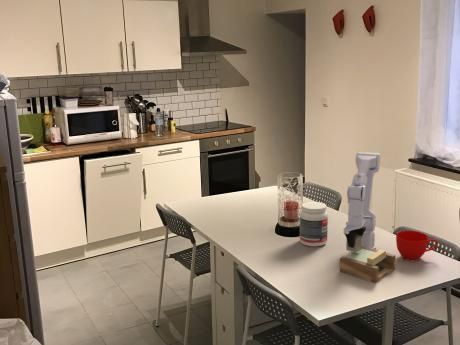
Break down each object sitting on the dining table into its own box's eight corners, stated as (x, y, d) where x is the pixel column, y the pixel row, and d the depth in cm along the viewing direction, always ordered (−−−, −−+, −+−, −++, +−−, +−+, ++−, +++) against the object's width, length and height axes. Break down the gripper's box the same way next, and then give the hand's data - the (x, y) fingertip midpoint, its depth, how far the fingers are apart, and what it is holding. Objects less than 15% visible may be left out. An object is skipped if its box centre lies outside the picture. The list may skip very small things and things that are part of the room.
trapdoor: (361, 250, 217) (361, 244, 217) (385, 257, 210) (386, 250, 209) (347, 259, 209) (347, 252, 208) (371, 266, 202) (372, 259, 201)
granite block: (351, 246, 216) (352, 233, 214) (361, 249, 213) (361, 235, 211) (346, 250, 213) (346, 236, 211) (355, 252, 210) (356, 238, 208)
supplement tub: (329, 247, 234) (330, 209, 230) (301, 248, 235) (301, 209, 230) (325, 237, 247) (325, 200, 242) (298, 237, 247) (298, 201, 243)
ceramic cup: (439, 265, 213) (441, 242, 210) (396, 263, 216) (398, 240, 214) (433, 253, 225) (435, 231, 223) (393, 250, 229) (394, 229, 226)
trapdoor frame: (359, 258, 222) (360, 245, 220) (394, 268, 211) (395, 255, 209) (339, 271, 210) (339, 257, 208) (375, 282, 199) (376, 268, 198)
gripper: (355, 207, 217) (354, 238, 220) (337, 216, 206) (336, 248, 210) (371, 211, 212) (369, 241, 215) (352, 220, 202) (351, 252, 205)
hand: (354, 245), depth 212 cm, fingers closed on granite block, 4 cm apart
